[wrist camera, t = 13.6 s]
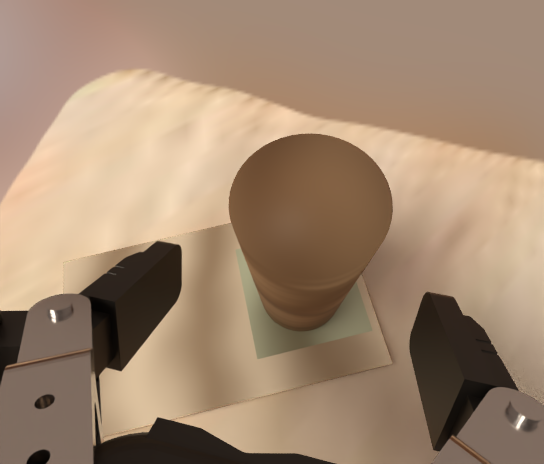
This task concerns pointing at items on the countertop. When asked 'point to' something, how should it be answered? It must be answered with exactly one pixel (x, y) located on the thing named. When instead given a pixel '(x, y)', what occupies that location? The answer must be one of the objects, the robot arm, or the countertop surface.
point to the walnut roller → (308, 224)
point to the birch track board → (224, 338)
